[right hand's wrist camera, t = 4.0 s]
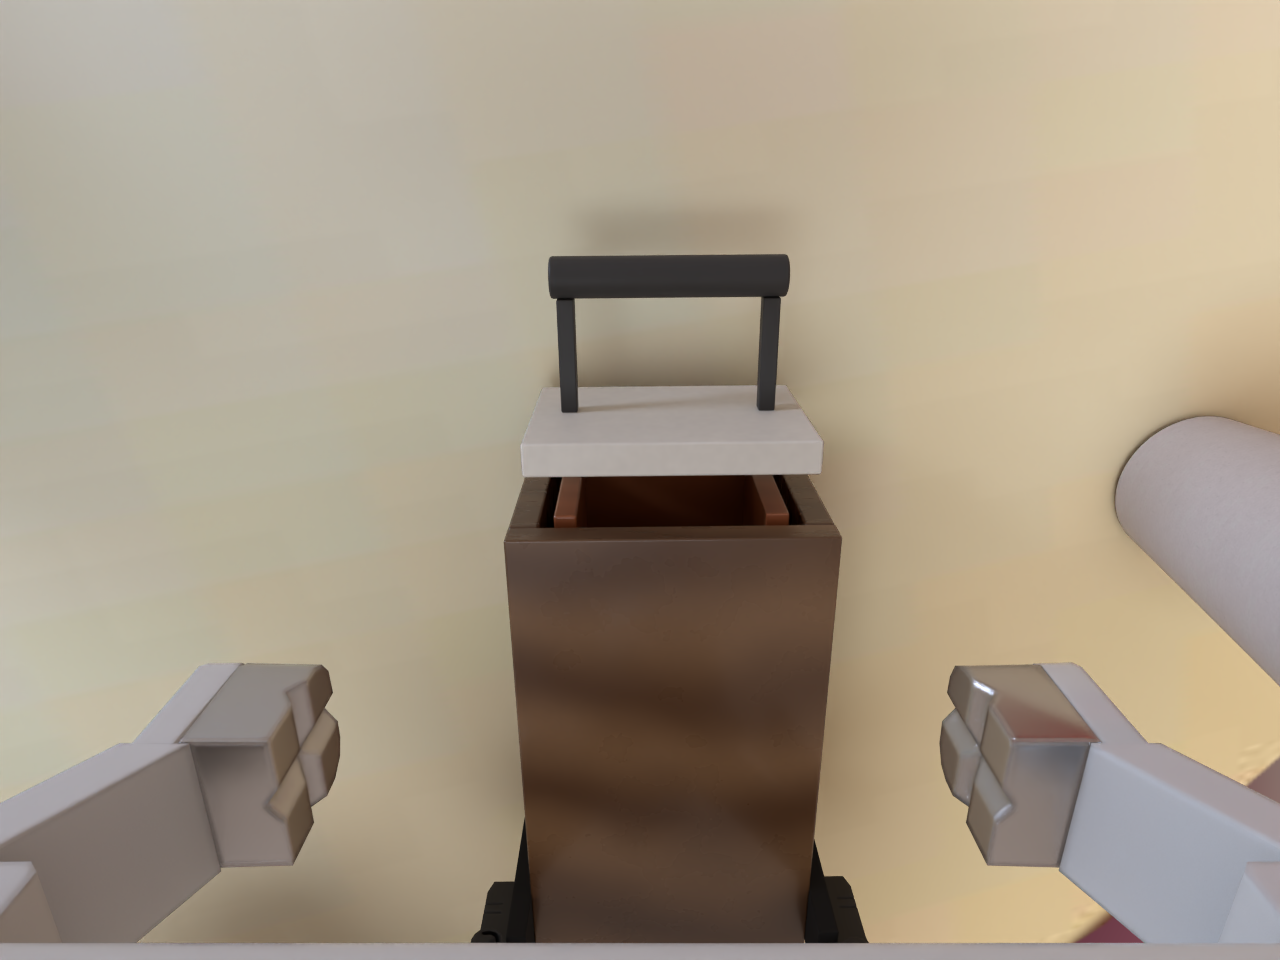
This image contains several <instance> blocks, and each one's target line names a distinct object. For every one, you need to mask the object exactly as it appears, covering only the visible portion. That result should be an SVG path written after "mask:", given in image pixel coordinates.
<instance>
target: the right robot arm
mask: <svg viewBox="0 0 1280 960" xmlns="http://www.w3.org/2000/svg"><path fill="white" fill-rule="evenodd" d="M332 693H333V691H332V686H331V681H330V677H329V672H328V670H327V669H326V668H324V667H323V666H322V665H308V664H261V663H247V664H243V663H208V664H205V665H202V666H199V667H198V668H197V669H196V670H195V671H194V673H193V674H192V675H191V676H190V677H189V678H188V679H187V681H186V682H185V683H184V684H183V685H182V686H181V687H180V689H179V690H178V691H177V692H176V693H175V694H174V695H173V697H172V698H171V699H170V700H169V701H168V702H167V704H166V705H165V706H164V707H163V708H162V709H161V710H160V712H159V713H158V714H157V715H156V716H155V717H154V718H153V720H152V721H151V722H150V723H149V724H148V725H147V726H146V728H145V729H144V730H143V731H142V732H141V733H140V734H139V736H138V737H137V738H136V739H135V740H134V741H133V742H132V743H119V744H117V745H115V746H113V747H111V748H109V749H107V750H105V751H103V752H101V753H99V754H97V755H95V756H93V757H91V758H89V759H87V760H85V761H83V762H81V763H79V764H77V765H75V766H73V767H71V768H69V769H67V770H65V771H63V772H61V773H59V774H57V775H55V776H53V777H51V778H49V779H47V780H45V781H43V782H41V783H39V784H37V785H35V786H33V787H31V788H29V789H27V790H25V791H24V792H22V793H20V794H18V795H16V796H14V797H12V798H10V799H8V800H6V801H4V802H2V803H0V960H1280V803H1278V802H1276V801H1274V800H1272V799H1270V798H1268V797H1266V796H1264V795H1262V794H1260V793H1258V792H1256V791H1254V790H1252V789H1250V788H1248V787H1246V786H1244V785H1242V784H1240V783H1238V782H1236V781H1234V780H1232V779H1230V778H1229V777H1227V776H1225V775H1223V774H1221V773H1219V772H1217V771H1215V770H1213V769H1211V768H1209V767H1207V766H1205V765H1203V764H1201V763H1199V762H1197V761H1195V760H1193V759H1191V758H1189V757H1187V756H1185V755H1183V754H1181V753H1179V752H1177V751H1175V750H1173V749H1171V748H1169V747H1167V746H1165V745H1163V744H1161V743H1148V742H1147V741H1146V740H1145V739H1144V738H1143V737H1142V736H1141V734H1140V733H1139V732H1138V731H1137V730H1136V729H1135V728H1134V726H1133V725H1132V724H1131V723H1130V722H1129V721H1128V720H1127V718H1126V717H1125V716H1124V715H1123V714H1122V713H1121V712H1120V710H1119V709H1118V708H1117V707H1116V706H1115V705H1114V704H1113V702H1112V701H1111V700H1110V699H1109V698H1108V697H1107V696H1106V694H1105V693H1104V692H1103V691H1102V690H1101V689H1100V687H1099V686H1098V685H1097V684H1096V683H1095V682H1094V681H1093V679H1092V678H1091V677H1090V676H1089V675H1088V674H1087V673H1086V671H1085V670H1084V669H1083V668H1082V667H1080V666H1078V665H1076V664H1074V663H1043V664H1033V665H976V666H955V667H954V669H953V671H952V674H951V676H950V680H949V685H948V691H947V693H948V695H949V697H950V699H951V700H952V702H953V704H954V706H955V709H954V710H953V711H952V712H951V713H950V714H949V715H948V716H947V717H946V718H945V719H944V720H943V721H942V728H941V736H940V754H941V765H942V768H943V772H944V776H945V779H946V782H947V784H948V786H949V788H950V790H951V793H952V795H953V796H954V797H956V798H957V799H958V800H960V801H961V802H963V803H964V804H966V805H967V806H968V807H969V809H968V815H967V820H966V823H967V825H968V827H969V829H970V831H971V833H972V835H973V837H974V839H975V841H976V843H977V845H978V847H979V849H980V851H981V853H982V855H983V858H984V860H985V862H986V864H987V865H992V866H1028V867H1060V868H1059V871H1060V872H1061V873H1062V874H1063V875H1065V876H1066V877H1067V878H1068V879H1069V880H1070V881H1072V882H1073V883H1074V884H1075V885H1076V886H1078V887H1079V888H1080V889H1081V890H1082V891H1083V892H1085V893H1086V894H1087V895H1088V896H1089V897H1091V898H1092V899H1093V900H1094V901H1095V902H1097V903H1098V904H1099V905H1100V906H1101V907H1102V908H1104V909H1105V910H1106V911H1107V912H1108V913H1110V914H1111V915H1112V916H1113V917H1114V918H1116V919H1117V920H1118V921H1119V922H1120V923H1121V924H1123V925H1124V926H1125V927H1126V928H1127V929H1129V930H1130V931H1131V932H1132V933H1133V934H1134V935H1136V936H1137V937H1138V938H1139V939H1141V940H1142V941H1143V942H1144V943H136V942H137V941H139V940H140V939H141V938H142V937H143V936H145V935H146V934H147V933H148V932H149V931H151V930H152V929H153V928H154V927H155V926H156V925H158V924H159V923H160V922H161V921H162V920H164V919H165V918H166V917H167V916H168V915H170V914H171V913H172V912H173V911H174V910H175V909H177V908H178V907H179V906H180V905H181V904H183V903H184V902H185V901H186V900H187V899H189V898H190V897H191V896H192V895H193V894H194V893H196V892H197V891H198V890H199V889H200V888H202V887H203V886H204V885H205V884H206V883H208V882H209V881H210V880H211V879H212V878H214V877H215V876H216V875H217V874H218V873H219V872H221V868H220V867H251V866H285V865H293V864H294V862H295V860H296V858H297V856H298V854H299V852H300V850H301V848H302V846H303V844H304V842H305V840H306V838H307V835H308V833H309V831H310V829H311V827H312V825H313V823H314V820H313V815H312V809H311V807H312V806H313V805H314V804H316V803H317V802H319V801H320V800H322V799H323V798H324V797H326V796H327V795H328V792H329V790H330V788H331V786H332V784H333V782H334V779H335V776H336V772H337V767H338V762H339V758H340V734H339V727H338V721H337V720H336V719H335V718H334V717H333V716H332V715H331V714H330V713H329V712H328V711H327V710H326V709H325V706H326V704H327V702H328V700H329V699H330V697H331V695H332Z"/></svg>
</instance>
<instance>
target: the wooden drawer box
mask: <svg viewBox="0 0 1280 960" xmlns="http://www.w3.org/2000/svg"><path fill="white" fill-rule="evenodd" d="M772 476H773V478H774V481H775V483H776V485H777V487H778V490H779V492H780V494H781V497H782V499H783V501H784V504H785V506H786V508H787V510H788V513H789V525H775V526H685V527H595V528H554V513H555V509H556V504H557V499H558V494H559V490H560V485H561V480H562V477H525V480H524V483H523V486H522V489H521V492H520V495H519V498H518V501H517V504H516V507H515V510H514V513H513V516H512V519H511V522H510V525H509V528H508V531H507V534H506V537H505V540H504V551H505V564H506V577H507V590H508V603H509V616H510V629H511V642H512V654H513V667H514V680H515V693H516V706H517V719H518V732H519V745H520V758H521V770H522V783H523V796H524V809H525V822H526V835H527V848H528V861H529V874H530V886H531V897H532V910H533V923H534V936H535V943H804V938H805V927H806V917H807V906H808V895H809V886H810V875H811V864H812V854H813V843H814V832H815V822H816V811H817V800H818V790H819V779H820V768H821V757H822V747H823V736H824V725H825V715H826V704H827V693H828V683H829V672H830V661H831V651H832V640H833V629H834V619H835V608H836V597H837V587H838V576H839V565H840V555H841V544H842V537H841V535H840V533H839V531H838V529H837V528H836V526H835V525H834V523H833V521H832V519H831V517H830V515H829V514H828V512H827V510H826V508H825V506H824V504H823V503H822V501H821V499H820V497H819V495H818V493H817V492H816V490H815V488H814V486H813V484H812V483H811V481H810V479H809V477H808V475H807V474H788V475H772Z"/></svg>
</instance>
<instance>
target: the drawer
mask: <svg viewBox="0 0 1280 960" xmlns="http://www.w3.org/2000/svg"><path fill="white" fill-rule="evenodd" d="M548 281H549V292H550V296H551V298H553V299H557V301H556V305H557V327H558V349H559V371H560V387H544V388H542V390H541V393H540V395H539V398H538V401H537V403H536V406H535V409H534V411H533V414H532V416H531V419H530V422H529V424H528V427H527V430H526V432H525V435H524V438H523V440H522V443H521V446H520V448H521V463H522V475H523V477H562V480H561V485H560V490H559V494H558V499H557V504H556V509H555V513H554V528H595V527H685V526H775V525H789V513H788V510H787V508H786V506H785V504H784V501H783V499H782V497H781V494H780V492H779V490H778V487H777V485H776V483H775V481H774V478H773V476H772V475H788V474H821V472H822V461H823V448H824V442H823V440H822V438H821V437H820V435H819V434H818V432H817V431H816V429H815V428H814V426H813V425H812V423H811V422H810V420H809V419H808V417H807V416H806V414H805V413H804V411H803V410H802V408H801V407H800V405H799V404H798V402H797V401H796V399H795V398H794V396H793V395H792V393H791V392H790V390H789V389H788V387H787V386H786V385H776V376H777V358H778V340H779V322H780V304H781V298H780V297H782V296H786V294H787V292H788V289H789V282H790V263H789V258H788V256H787V255H785V254H761V255H651V256H552V257H550V258H549V263H548ZM675 297H761V318H760V339H759V360H758V381H757V385H736V386H636V387H578V379H577V352H576V325H575V299H574V298H675Z"/></svg>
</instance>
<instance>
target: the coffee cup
mask: <svg viewBox="0 0 1280 960" xmlns="http://www.w3.org/2000/svg"><path fill="white" fill-rule="evenodd" d="M1115 506H1116V513H1117V517H1118V520H1119V522H1120V524H1121V526H1122V528H1123V529H1124V531H1125V532H1126V533H1127V535H1128V536H1129V537H1130V538H1131V539H1132V540H1133V541H1134V542H1135V543H1136V544H1137V545H1138V546H1139V547H1140V548H1141V549H1142V550H1143V551H1144V552H1145V553H1146V554H1147V555H1148V556H1149V557H1150V558H1151V559H1152V560H1153V561H1154V562H1155V563H1156V564H1157V565H1158V566H1159V567H1160V568H1161V569H1162V570H1163V571H1164V572H1165V573H1166V574H1167V575H1168V576H1170V577H1171V578H1172V579H1173V580H1174V581H1175V582H1176V583H1177V584H1178V585H1179V586H1180V587H1181V588H1182V589H1183V590H1184V591H1185V592H1186V593H1187V594H1188V595H1189V596H1190V597H1191V598H1192V599H1193V600H1194V601H1195V602H1196V603H1197V604H1198V605H1199V606H1200V607H1201V608H1202V609H1203V610H1204V611H1205V612H1206V613H1207V614H1208V615H1209V616H1210V617H1211V618H1212V619H1213V620H1214V621H1215V622H1216V623H1217V624H1218V625H1219V626H1220V627H1221V628H1222V629H1223V630H1224V631H1225V632H1226V633H1227V634H1228V635H1229V636H1230V637H1231V638H1232V639H1233V640H1234V641H1235V642H1236V643H1237V644H1238V645H1239V646H1240V647H1241V648H1242V649H1243V650H1244V651H1245V652H1246V653H1247V654H1248V655H1249V656H1250V657H1251V658H1252V659H1253V660H1254V661H1255V662H1256V663H1257V664H1258V665H1259V666H1260V667H1261V668H1262V669H1263V670H1264V671H1265V672H1266V673H1267V674H1268V675H1269V676H1270V677H1271V678H1272V679H1273V680H1274V681H1275V682H1276V683H1277V684H1278V685H1279V686H1280V435H1279V434H1276V433H1273V432H1270V431H1266V430H1263V429H1260V428H1257V427H1254V426H1251V425H1247V424H1244V423H1241V422H1238V421H1235V420H1231V419H1228V418H1223V417H1216V416H1203V417H1195V418H1190V419H1186V420H1183V421H1180V422H1177V423H1175V424H1172V425H1170V426H1168V427H1166V428H1164V429H1162V430H1161V431H1159V432H1158V433H1156V434H1155V435H1153V436H1152V437H1151V438H1149V439H1148V440H1147V441H1146V442H1145V443H1143V444H1142V445H1141V446H1140V447H1139V448H1138V449H1137V451H1136V452H1135V453H1134V454H1133V455H1132V457H1131V458H1130V459H1129V461H1128V462H1127V464H1126V466H1125V468H1124V469H1123V471H1122V474H1121V476H1120V478H1119V481H1118V485H1117V489H1116V496H1115Z"/></svg>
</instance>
